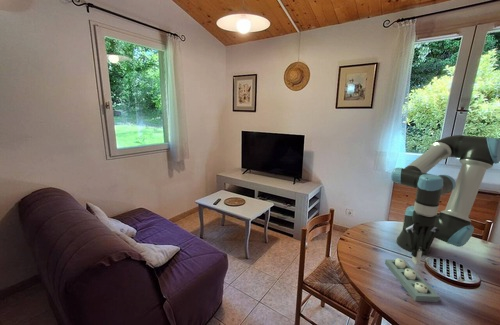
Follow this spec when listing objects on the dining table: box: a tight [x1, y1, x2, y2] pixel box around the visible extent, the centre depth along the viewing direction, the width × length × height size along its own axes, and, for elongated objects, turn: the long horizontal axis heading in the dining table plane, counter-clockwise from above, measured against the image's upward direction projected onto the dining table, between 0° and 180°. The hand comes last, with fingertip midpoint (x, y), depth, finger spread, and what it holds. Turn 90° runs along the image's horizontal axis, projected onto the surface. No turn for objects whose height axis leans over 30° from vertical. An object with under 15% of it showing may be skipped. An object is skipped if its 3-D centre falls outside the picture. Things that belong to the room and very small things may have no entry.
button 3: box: [414, 282, 428, 293], centre depth 91 cm, size 4×4×3 cm
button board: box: [384, 258, 441, 303], centre depth 98 cm, size 9×22×2 cm, turn 177°
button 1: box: [394, 257, 407, 269], centre depth 105 cm, size 4×4×3 cm
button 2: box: [404, 268, 418, 280], centre depth 98 cm, size 4×4×3 cm
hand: (415, 262), depth 96 cm, fingers closed
